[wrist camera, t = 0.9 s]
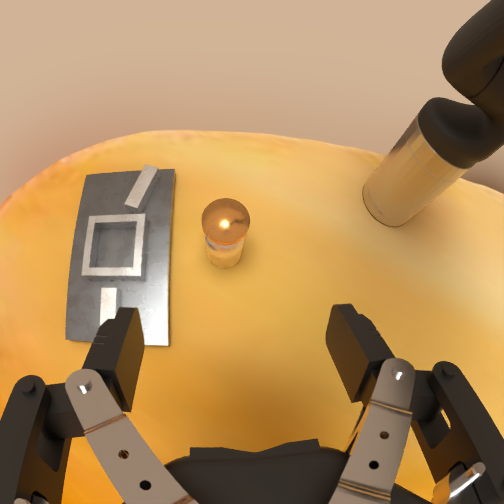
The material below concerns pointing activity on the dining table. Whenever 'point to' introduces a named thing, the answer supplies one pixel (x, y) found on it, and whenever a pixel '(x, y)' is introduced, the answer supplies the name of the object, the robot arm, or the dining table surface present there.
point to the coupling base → (122, 253)
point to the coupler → (225, 231)
